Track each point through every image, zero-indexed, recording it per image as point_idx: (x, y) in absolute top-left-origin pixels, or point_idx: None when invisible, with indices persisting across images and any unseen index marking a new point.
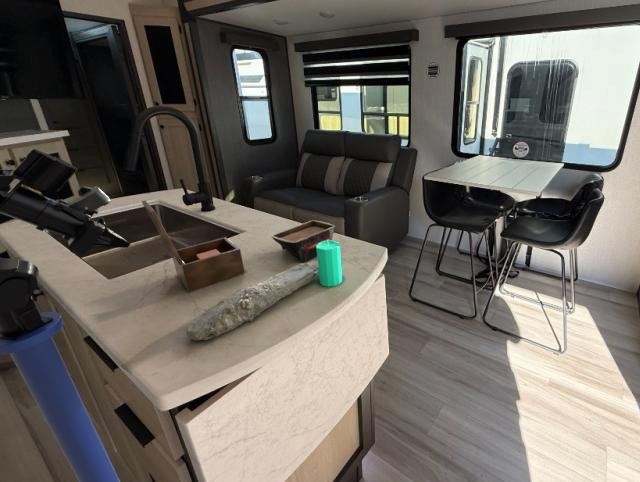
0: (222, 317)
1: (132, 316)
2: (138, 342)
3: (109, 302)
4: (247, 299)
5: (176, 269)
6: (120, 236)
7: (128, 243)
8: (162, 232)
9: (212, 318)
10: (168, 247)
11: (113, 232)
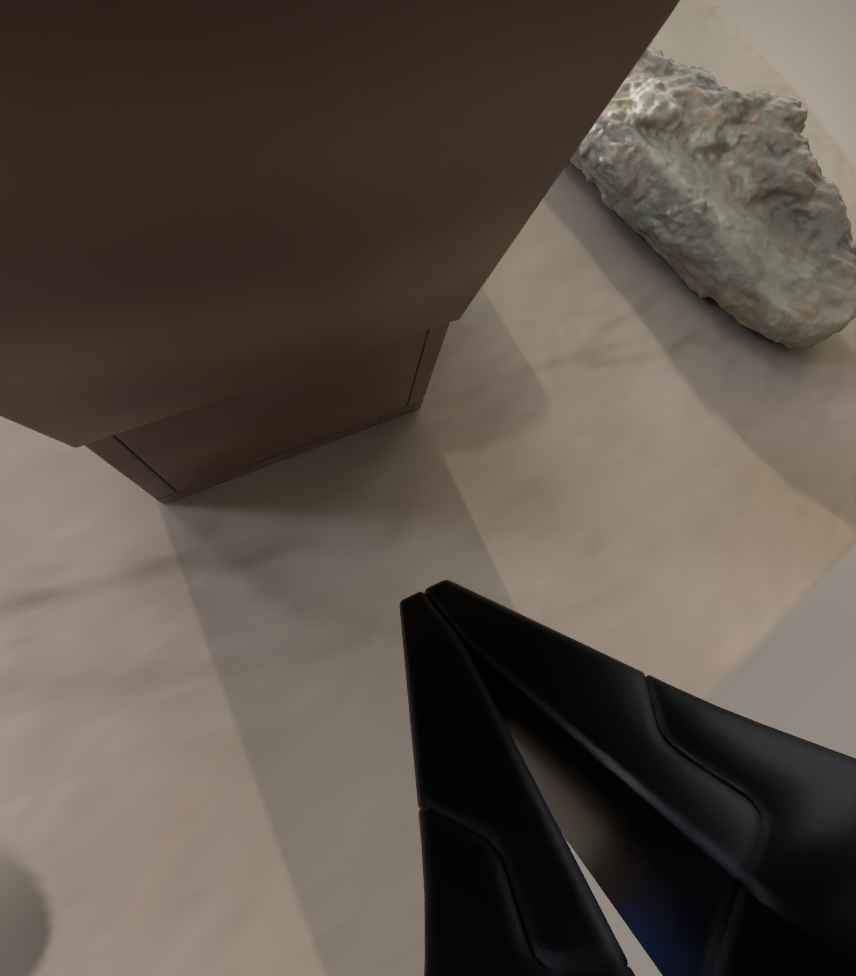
0: (839, 197)
1: (577, 620)
2: (771, 527)
3: (382, 821)
4: (770, 102)
5: (179, 476)
6: (423, 707)
7: (460, 593)
8: (627, 63)
9: (805, 241)
10: (307, 327)
11: (526, 813)
